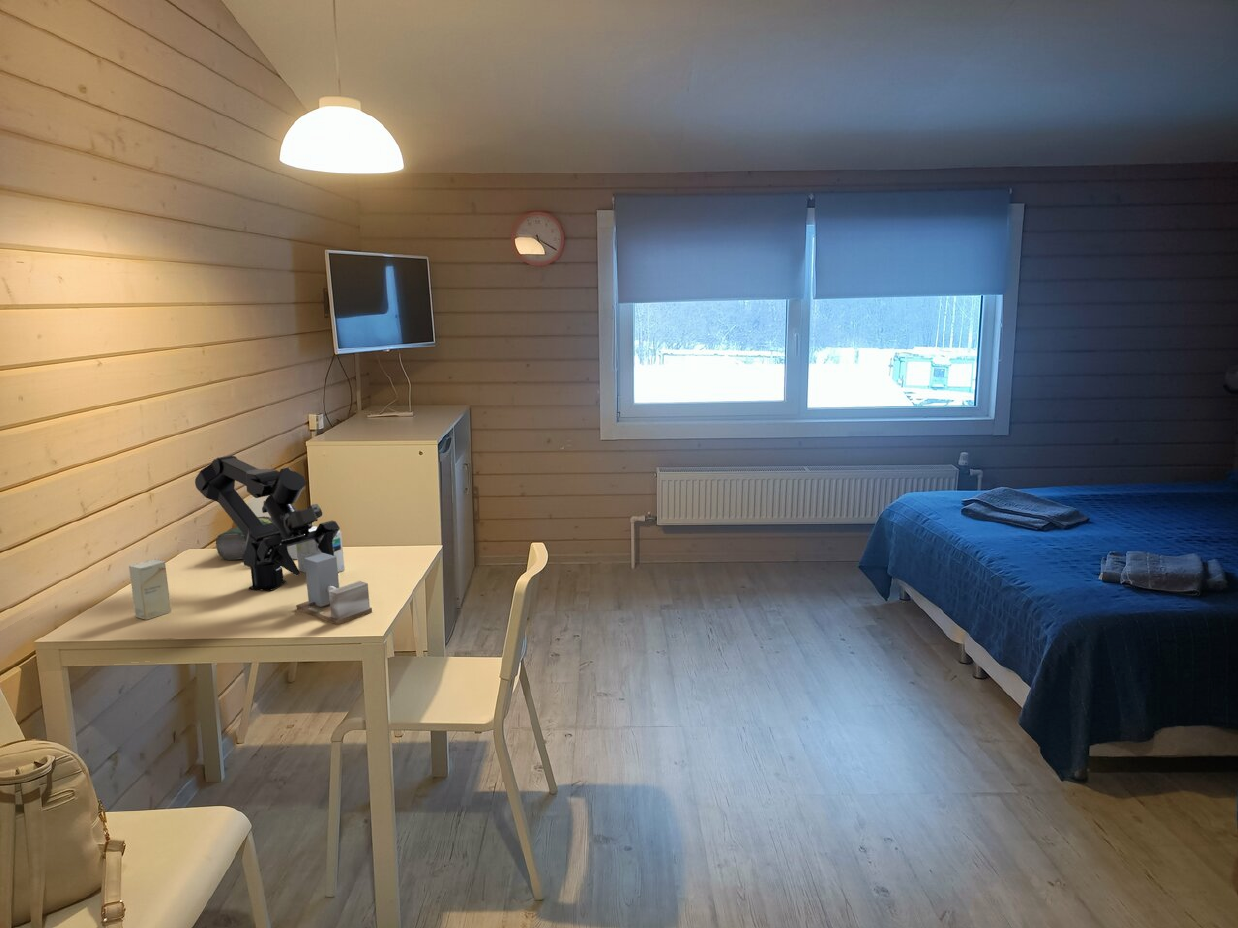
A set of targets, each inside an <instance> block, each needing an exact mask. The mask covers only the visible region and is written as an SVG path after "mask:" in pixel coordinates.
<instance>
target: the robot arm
mask: <svg viewBox="0 0 1238 928" xmlns="http://www.w3.org/2000/svg"><path fill="white" fill-rule="evenodd" d="M236 482H238V483H240V484H242V485H244V486H245V487H246V492H247V493H249V494H250V495H251V496H252V497H254V498H255V499H259V498H264V497H266V499H265V500H264V501H263V502H262V503H263V505H262V507H261V508H262V509H261V510H262V511H261V512H262V513H263V514H265V513H267V514H268V515H269V517H270V518H271V519H272V520H273V522H274V524H273V523H268V524H263V523H262V522H261V521H260V520H259V519H258V517H259V516H257V515H256V514H255V512H254V511H253V510H252V508H251V507H250V506H249V504H248V503H246V501H245V500H244V498H242V497H241V495H240V494H239V493H238V491H237V490H236V488H235V484H236ZM194 484H195V488H196V489H197V491H199V492H200V494H202V496H204V498H206V499H208V500H211V501H214V502H217V503H218V504H219V505H220V506H221V507H222V509H223V510H224V511H225V513H226V514H227V516H229V518H230V519H231V521H232V522H233V523H234V524H235V525H236V527H237V526H238V528H239V529H240V530H241V531H242V533H243V534H244V535H245V536H246V538H247V540H246V551H245V552H244V554H243V556H242V559H241V560H242V563H243V564H244V566H247V567H248V568H250V574H251V584H252V585H250V586H249V587H248V590H254V591H268V592H269V591H274V590H276V589H277V588H279V587H280V586H281V587H282V585H284V584H286V583H287V580H286V579H284V574H283V573H284V572H283V569H285V570H287V571H288V572H290V573H291V574H293V575H295V576H299V575H300V572H301V571H299V567H298V566H297V564H296V563H295V562H294V559H292V558H291V556H290V555H289V553H288V550H287V547H288V546H292V545H295V544H299V543H303V542H306V541H310V540H315V542H316V543H318V544H319V545H318V548H319V549H320V551H321V552H322V553H326V554H329V555H332V556H334V552H333V542H332V541H333V539H334V537H335V535H336V534H337V532H338V531H340V529H341V528H340V526H339V524H338V522H336V521H335V520H328V521H325V522H321V523H319V524H318V526H316V527H317V529H316V530H315V531H311V532H309V529H311V528H312V527H314V526H313V524H312V523H315V522H318V521H319V518H322V516H323V512H322V511H323V510H322V508H321V507H320V506H319V504H318V503H314V504H310V506H308V507H307V508H305V509H298V510H297V509H296V507H295V506H294V503H297V501H298V499H299V497H300V495H301V493H302V491H303V490H304V488H305V486H306V479H305V477H304V475H302V474H300V473H299V472H297V471H294V470H291V468H290V467H283V468H280V470H279V471H278V470H277V469H273V468H258V467H255V466H254V465H251V464H249V463H246V462H245V461H243V460H240V459H238V458H237V456H235V455H230V454H229V455H227V456H225V455H224V456H220V457H216V458H215V459H213V460H212V462H211V463H210V464H209V465H207V466H206V467H204V468H202V469H201V470H200V471H199V472H198V474H197V475H196V478H195V480H194Z"/></svg>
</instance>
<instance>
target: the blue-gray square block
mask: <svg viewBox="0 0 1238 928" xmlns="http://www.w3.org/2000/svg"><path fill="white" fill-rule="evenodd" d="M304 561H305V571H306V572H305V578H306V587H307V588H306V589H307V598H308V599H307V600H308V601H309V602H310V603H309V606H313V605H318V606H320V607H322V606H325V605H328V604H330V599H329V591H330V590H333V589H336V588H339V587H340V582H339V572H338V569H337V558H336V556H332V555H329V554H326V553H321V554H318V555H314V556H311V557H308V558H304Z"/></svg>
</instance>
